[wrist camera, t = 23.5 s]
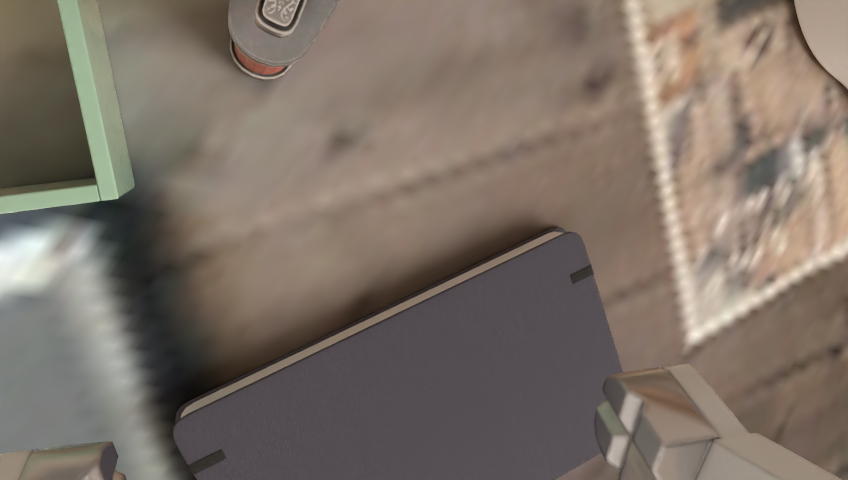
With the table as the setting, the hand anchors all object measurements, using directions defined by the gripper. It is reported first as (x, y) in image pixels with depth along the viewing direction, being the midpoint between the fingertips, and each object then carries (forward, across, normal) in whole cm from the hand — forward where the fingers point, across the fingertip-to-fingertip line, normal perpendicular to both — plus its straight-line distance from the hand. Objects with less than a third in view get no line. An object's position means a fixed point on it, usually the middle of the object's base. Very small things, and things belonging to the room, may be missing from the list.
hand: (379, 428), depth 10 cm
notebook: (+14, -4, +16) cm, 22 cm away
